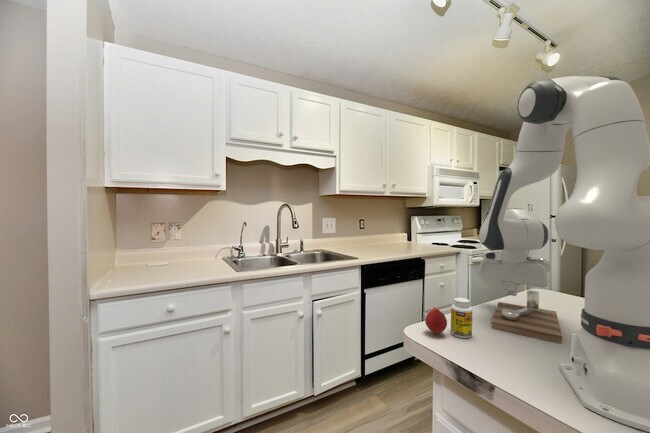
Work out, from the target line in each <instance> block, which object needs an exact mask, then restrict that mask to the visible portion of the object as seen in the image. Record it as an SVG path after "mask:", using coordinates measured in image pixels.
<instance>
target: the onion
mask: <svg viewBox="0 0 650 433" xmlns="http://www.w3.org/2000/svg"><path fill="white" fill-rule="evenodd" d="M424 322H425V325H426V327H427V329H428V330H430V331H431V332H432V333H433V335H438V334H439V335H440V334H441V333H443V332H444V331H445V330H446V328H447V327H448V320H447V317H446V315H445V314H444V313H443V312H442V311H441V310H440V309H439V308H438V307H437V306H433V309H432V310H431V309H430V311H428V312H427V314H426V315H425V319H424Z"/></svg>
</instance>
